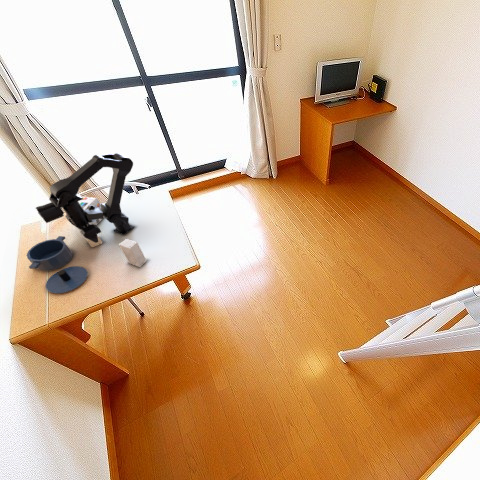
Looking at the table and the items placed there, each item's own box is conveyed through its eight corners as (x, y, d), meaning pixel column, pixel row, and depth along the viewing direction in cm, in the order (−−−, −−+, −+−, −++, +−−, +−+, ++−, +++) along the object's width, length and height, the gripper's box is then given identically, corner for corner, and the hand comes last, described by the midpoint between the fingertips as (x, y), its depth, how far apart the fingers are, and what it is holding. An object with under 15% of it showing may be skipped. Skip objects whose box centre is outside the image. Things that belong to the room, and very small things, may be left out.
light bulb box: (94, 227, 137) (84, 210, 130) (80, 226, 137) (69, 209, 130) (107, 214, 145) (97, 197, 138) (93, 213, 145) (83, 196, 137)
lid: (95, 268, 120) (89, 260, 116) (75, 295, 110) (68, 287, 106) (61, 267, 119) (54, 258, 115) (38, 293, 109) (29, 285, 105)
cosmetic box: (147, 260, 126) (137, 242, 118) (140, 267, 123) (129, 248, 115) (136, 256, 127) (126, 238, 119) (128, 263, 124) (117, 244, 116)
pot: (83, 245, 128) (75, 236, 124) (56, 276, 115) (47, 267, 111) (53, 244, 128) (45, 234, 123) (23, 275, 114) (13, 265, 110)
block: (99, 238, 133) (94, 231, 130) (102, 243, 131) (98, 236, 128) (88, 242, 130) (83, 235, 127) (92, 247, 128) (87, 240, 125)
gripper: (105, 212, 119) (120, 238, 130) (85, 194, 126) (101, 220, 137) (76, 224, 112) (94, 250, 123) (56, 204, 119) (75, 231, 130)
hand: (92, 237), depth 128 cm, fingers open, 9 cm apart
